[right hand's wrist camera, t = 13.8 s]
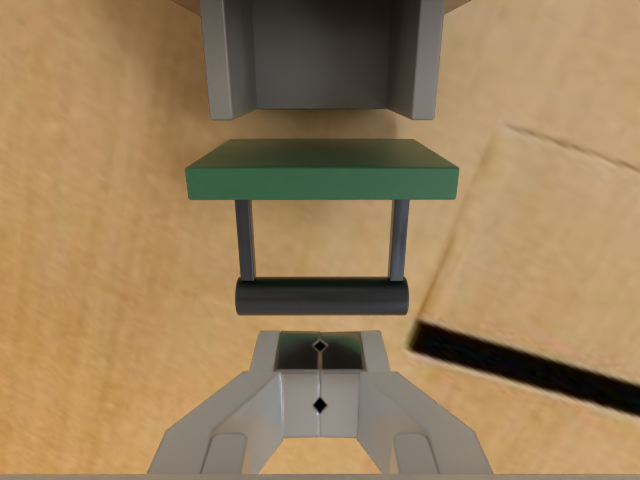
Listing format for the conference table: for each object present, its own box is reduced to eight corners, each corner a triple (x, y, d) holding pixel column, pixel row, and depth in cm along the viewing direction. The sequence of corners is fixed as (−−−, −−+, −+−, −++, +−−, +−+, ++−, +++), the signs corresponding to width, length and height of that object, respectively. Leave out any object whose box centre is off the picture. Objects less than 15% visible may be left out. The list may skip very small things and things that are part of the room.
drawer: (404, 262, 24) (440, 337, 17) (238, 262, 24) (204, 337, 17) (435, -127, 18) (512, -266, 11) (207, -127, 18) (132, -265, 11)
